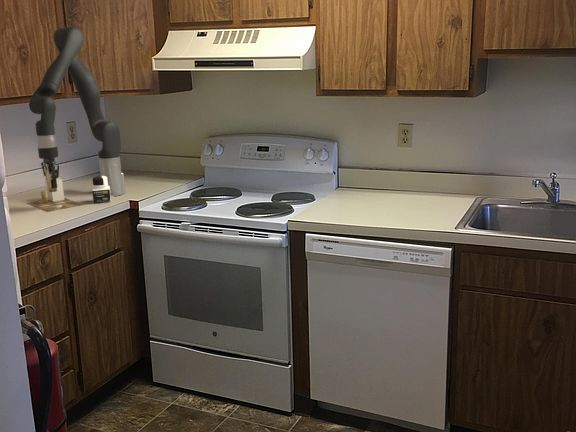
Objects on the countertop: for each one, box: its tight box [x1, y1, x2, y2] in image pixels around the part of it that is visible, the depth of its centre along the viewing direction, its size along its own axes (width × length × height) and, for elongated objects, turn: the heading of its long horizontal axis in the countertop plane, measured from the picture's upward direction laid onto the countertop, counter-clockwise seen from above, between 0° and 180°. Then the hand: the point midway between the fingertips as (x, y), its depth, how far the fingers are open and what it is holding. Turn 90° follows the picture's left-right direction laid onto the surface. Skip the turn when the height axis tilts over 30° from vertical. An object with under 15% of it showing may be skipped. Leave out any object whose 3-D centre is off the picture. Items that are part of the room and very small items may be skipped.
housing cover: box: [44, 175, 65, 202], centre depth 280 cm, size 5×6×10 cm
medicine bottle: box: [91, 175, 112, 205], centre depth 273 cm, size 7×7×12 cm
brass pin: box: [46, 170, 57, 192], centre depth 264 cm, size 3×3×9 cm
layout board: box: [25, 190, 85, 213], centre depth 272 cm, size 16×24×6 cm, turn 41°
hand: (52, 187), depth 265 cm, fingers closed on brass pin, 3 cm apart
